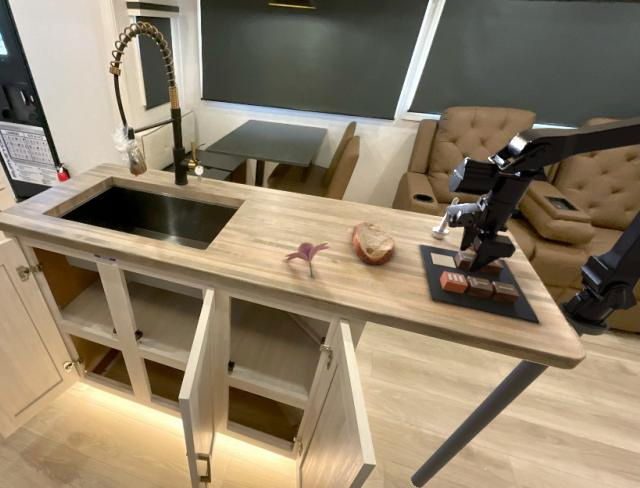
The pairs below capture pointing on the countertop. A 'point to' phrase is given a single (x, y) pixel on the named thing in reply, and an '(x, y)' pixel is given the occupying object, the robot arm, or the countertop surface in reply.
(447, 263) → the mat
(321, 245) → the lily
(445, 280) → the tile
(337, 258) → the countertop surface
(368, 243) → the slice of bread
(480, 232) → the robot arm
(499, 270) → the chocolate chunk
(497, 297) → the tile
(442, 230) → the screw
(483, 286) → the chocolate piece
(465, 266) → the brown block
